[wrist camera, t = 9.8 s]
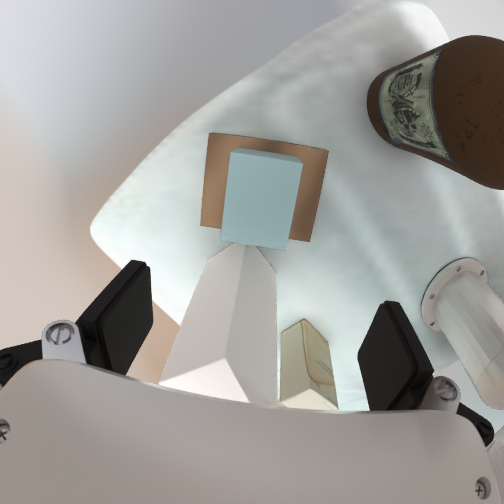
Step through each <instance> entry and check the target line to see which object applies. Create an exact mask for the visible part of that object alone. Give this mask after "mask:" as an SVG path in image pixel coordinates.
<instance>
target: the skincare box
mask: <svg viewBox="0 0 504 504" xmlns="http://www.w3.org/2000/svg"><path fill="white" fill-rule="evenodd" d="M280 404H281V405H283V406H284V407H288V408H300V409H314V410H335V411H337V410H339V409H338V402H337V396H336V389H335V382H334V376H333V369H332V363H331V357H330V351H329V345H328V342H327V341H326V340H325V339H324V338H323V337H322V336H321V334H320V333H319V332H318V331H317V330H316V329H315V328H314V327H313V326H312V325H311V324H310V323H309V322H308V321H307V320H306V319H303V320H302V321H300V322H298V323H297V324H295V325H293V326H292V327H290V328H288V329H287V330H285V331H283V332H282V333H281V366H280Z"/></svg>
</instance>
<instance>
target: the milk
mask: <svg viewBox="0 0 504 504" xmlns="http://www.w3.org/2000/svg"><path fill="white" fill-rule="evenodd" d="M159 385H162V386H166V387H170V388H174V389H178V390H183V391H187V392H192V393H196V394H201V395H206V396H211V397H217V398H222V399H228V400H234V401H240V402H247V403H254V404H261V405H269V406H277V305H276V273H275V271H274V270H273V268H272V267H271V266H270V264H269V263H268V261H267V260H266V259H265V257H264V256H263V255H262V253H261V252H260V250H259V249H258V248H257V246H253V245H247V244H240V243H234V244H232V245H231V246H229V247H227V248H226V249H224V250H222V251H221V252H219V253H218V254H216V255H214V256H213V257H211V258H210V259H208V260H207V263H206V265H205V267H204V270H203V272H202V274H201V277H200V279H199V282H198V284H197V286H196V289H195V291H194V294H193V296H192V299H191V301H190V303H189V306H188V308H187V311H186V313H185V316H184V318H183V321H182V323H181V326H180V328H179V331H178V334H177V336H176V339H175V341H174V344H173V346H172V349H171V351H170V354H169V357H168V360H167V362H166V364H165V367H164V370H163V372H162V375H161V378H160V381H159Z"/></svg>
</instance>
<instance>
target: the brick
mask: <svg viewBox="0 0 504 504" xmlns="http://www.w3.org/2000/svg"><path fill="white" fill-rule="evenodd" d="M302 167H303V163H302V162H301V161H300V159H299V158H298V157H296V156H290V155H285V154H279V153H273V152H266V151H260V150H253V149H246V148H239V147H237V148H236V149H234V150H233V151H232V152H231V155H230V162H229V170H228V178H227V186H226V194H225V203H224V211H223V220H222V229H221V238H220V240H221V241H227V242H234V243H240V244H247V245H253V246H260V247H266V248H272V249H279V250H285V251H286V247H287V242H288V238H289V233H290V228H291V223H292V218H293V213H294V208H295V203H296V198H297V193H298V188H299V183H300V178H301V172H302Z"/></svg>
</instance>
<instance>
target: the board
mask: <svg viewBox="0 0 504 504" xmlns="http://www.w3.org/2000/svg"><path fill="white" fill-rule="evenodd" d="M237 147H239V148H246V149H253V150H260V151H266V152H273V153H279V154H285V155H290V156H296V157H298V158H299V159H300V161H301V162H302V163H303V167H302V172H301V178H300V183H299V188H298V193H297V198H296V203H295V208H294V213H293V218H292V223H291V228H290V233H289V238H288V239H293V240H300V241H306V242H310V238H311V234H312V230H313V225H314V221H315V216H316V212H317V207H318V203H319V198H320V193H321V188H322V183H323V178H324V173H325V168H326V163H327V158H328V153H329V151H327V150H323V149H319V148H314V147H308V146H303V145H298V144H292V143H286V142H280V141H274V140H267V139H261V138H253V137H246V136H238V135H229V134H220V133H209V138H208V147H207V156H206V166H205V176H204V187H203V198H202V211H201V224H200V226H206V227H213V228H220V229H222V220H223V211H224V203H225V194H226V186H227V178H228V170H229V162H230V155H231V152H232V151H233V150H234V149H236V148H237Z"/></svg>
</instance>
